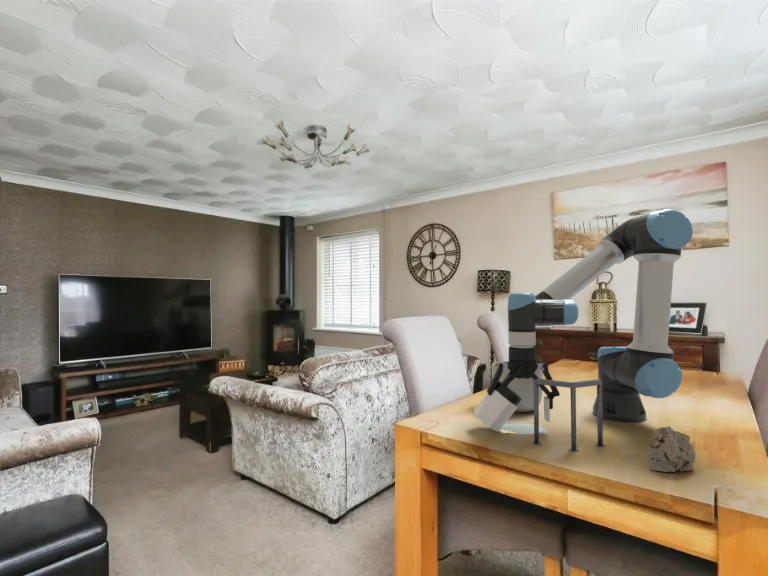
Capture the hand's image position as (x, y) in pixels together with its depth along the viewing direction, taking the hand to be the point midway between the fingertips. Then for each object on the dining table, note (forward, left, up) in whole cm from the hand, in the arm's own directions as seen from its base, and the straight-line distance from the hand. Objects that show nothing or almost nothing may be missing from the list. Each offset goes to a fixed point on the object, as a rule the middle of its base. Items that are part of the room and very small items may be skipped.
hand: (523, 419), depth 117 cm
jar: (+11, 0, -1) cm, 11 cm away
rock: (-27, +26, -4) cm, 37 cm away
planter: (-4, -24, -4) cm, 25 cm away
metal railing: (-9, +11, -3) cm, 14 cm away
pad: (0, 0, -3) cm, 4 cm away
